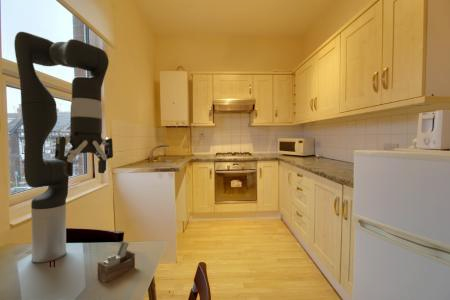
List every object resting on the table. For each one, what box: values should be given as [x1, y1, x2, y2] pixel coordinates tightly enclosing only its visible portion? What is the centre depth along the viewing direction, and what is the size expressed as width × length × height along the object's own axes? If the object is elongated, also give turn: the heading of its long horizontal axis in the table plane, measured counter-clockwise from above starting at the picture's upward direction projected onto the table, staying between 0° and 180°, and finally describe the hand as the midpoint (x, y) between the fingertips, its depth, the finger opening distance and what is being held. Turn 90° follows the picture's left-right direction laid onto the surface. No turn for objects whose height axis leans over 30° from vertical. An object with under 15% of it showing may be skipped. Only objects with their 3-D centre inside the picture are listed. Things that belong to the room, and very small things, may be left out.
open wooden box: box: [97, 249, 136, 283], centre depth 67 cm, size 4×9×4 cm, turn 149°
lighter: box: [103, 240, 130, 269], centre depth 67 cm, size 7×2×8 cm, turn 149°
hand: (86, 174), depth 64 cm, fingers open, 8 cm apart
